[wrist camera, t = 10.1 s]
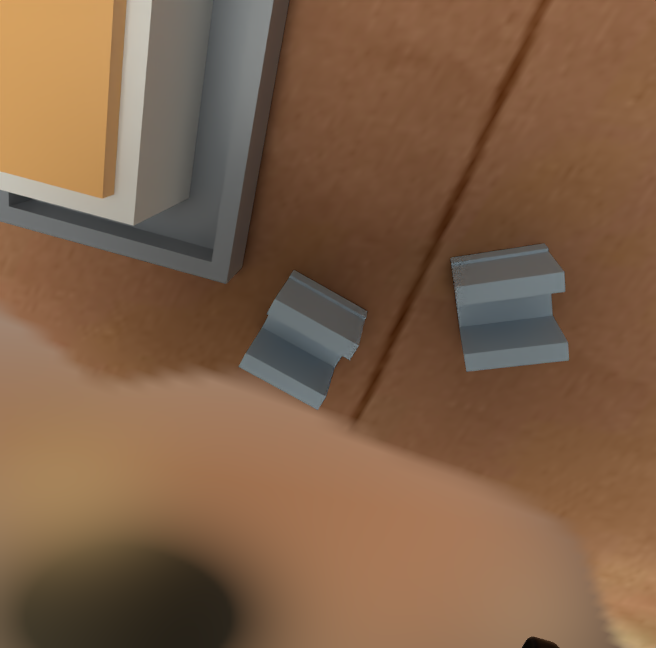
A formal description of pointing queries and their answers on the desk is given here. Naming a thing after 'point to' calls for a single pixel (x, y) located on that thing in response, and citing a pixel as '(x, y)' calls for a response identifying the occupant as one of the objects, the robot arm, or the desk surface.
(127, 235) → the grey rectangular tray
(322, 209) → the desk surface
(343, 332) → the clip
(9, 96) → the white orange block
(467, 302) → the clip
